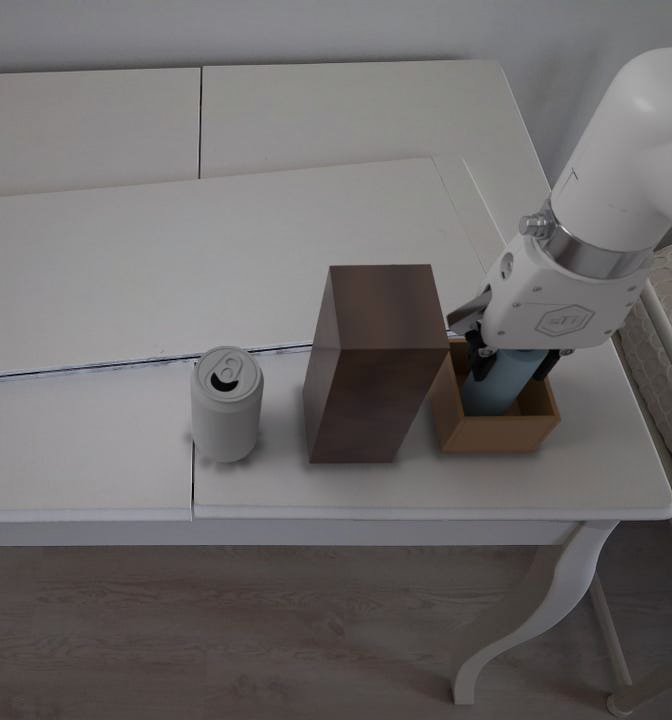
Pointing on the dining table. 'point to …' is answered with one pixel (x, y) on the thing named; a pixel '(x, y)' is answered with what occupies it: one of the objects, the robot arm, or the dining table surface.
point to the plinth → (371, 361)
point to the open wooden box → (489, 433)
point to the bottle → (500, 382)
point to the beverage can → (226, 403)
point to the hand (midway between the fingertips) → (504, 366)
